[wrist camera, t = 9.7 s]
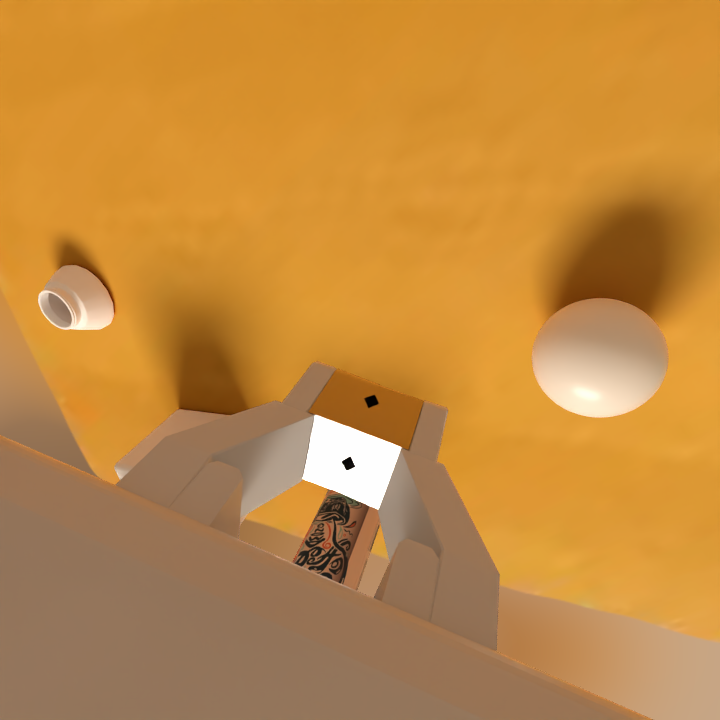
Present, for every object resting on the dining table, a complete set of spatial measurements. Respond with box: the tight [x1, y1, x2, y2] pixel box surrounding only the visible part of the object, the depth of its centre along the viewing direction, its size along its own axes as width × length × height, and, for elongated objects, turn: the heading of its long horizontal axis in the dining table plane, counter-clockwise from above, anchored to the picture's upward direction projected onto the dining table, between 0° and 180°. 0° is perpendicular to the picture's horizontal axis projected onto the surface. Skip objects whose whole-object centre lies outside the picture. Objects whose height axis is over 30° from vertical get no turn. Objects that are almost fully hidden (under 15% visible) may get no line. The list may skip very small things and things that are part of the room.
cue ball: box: [532, 298, 668, 417], centre depth 20 cm, size 6×6×6 cm
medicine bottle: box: [115, 409, 247, 524], centre depth 31 cm, size 7×7×12 cm
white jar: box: [38, 265, 114, 330], centre depth 32 cm, size 5×3×5 cm
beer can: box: [292, 489, 380, 591], centre depth 30 cm, size 5×5×12 cm
